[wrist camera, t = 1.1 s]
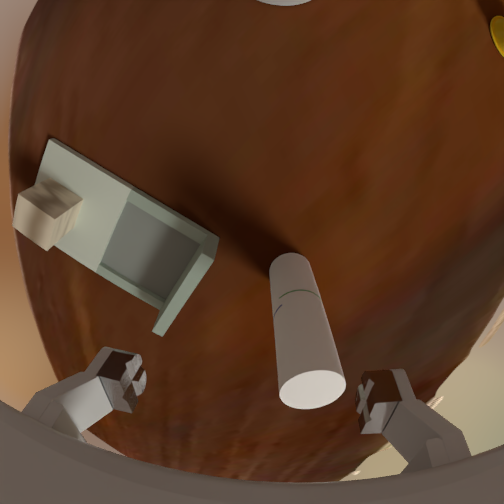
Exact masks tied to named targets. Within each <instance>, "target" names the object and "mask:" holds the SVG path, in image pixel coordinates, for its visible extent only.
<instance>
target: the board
mask: <svg viewBox="0 0 504 504" xmlns="http://www.w3.org/2000/svg"><path fill="white" fill-rule="evenodd" d="M48 178H52V179H53V180H55V181H56V182H58V183H59V184H61V185H62V186H64V187H65V188H67V189H68V190H70V191H72V192H73V193H75V194H76V195H78V196H79V197H81V198H83V199H84V200H83V203H82V205H81V208H80V211H79V214H78V217H77V220H76V223H75V226H74V228H73V229H72V230H70V231H69V232H68V233H67V234H66V235H65V236H63V237H62V238H61V239H60V240H59V241H58V242H56V243H55V244H54V245H55V246H56V247H58V248H59V249H61V250H62V251H64V252H65V253H67V254H68V255H70V256H71V257H73V258H74V259H76V260H77V261H79V262H80V263H82V264H83V265H85V266H86V267H88V268H90V269H91V270H93V271H94V272H96V273H98V274H99V275H101V276H102V277H104V278H106V279H107V280H109V281H111V282H112V283H114V284H116V285H117V286H119V287H121V288H122V289H124V290H126V291H127V292H129V293H131V294H133V295H134V296H136V297H138V298H140V299H141V300H143V301H145V302H147V303H149V304H150V305H152V306H154V307H156V308H158V309H159V310H160V312H159V315H158V317H157V320H156V322H155V325H154V328H153V330H152V332H154V333H156V334H158V335H160V336H162V337H163V335H164V334H165V332H166V331H167V329H168V328H169V326H170V325H171V323H172V322H173V320H174V319H175V317H176V316H177V314H178V313H179V311H180V310H181V308H182V307H183V305H184V304H185V302H186V301H187V299H188V298H189V296H190V295H191V293H192V292H193V290H194V289H195V287H196V286H197V285H198V283H199V282H200V280H201V279H202V277H203V276H204V274H205V273H206V271H207V270H208V269H209V267H210V266H211V264H212V263H213V261H214V259H215V255H216V251H217V246H218V242H219V237H218V236H216V235H214V234H213V233H211V232H209V231H208V230H206V229H204V228H203V227H201V226H199V225H198V224H196V223H194V222H193V221H191V220H189V219H188V218H186V217H184V216H183V215H181V214H179V213H178V212H176V211H174V210H173V209H171V208H169V207H168V206H166V205H164V204H163V203H161V202H159V201H158V200H156V199H154V198H153V197H151V196H149V195H148V194H146V193H144V192H143V191H141V190H139V189H138V188H136V187H134V186H133V185H131V184H129V183H128V182H126V181H124V180H123V179H121V178H119V177H118V176H116V175H114V174H113V173H111V172H109V171H108V170H106V169H104V168H103V167H101V166H99V165H98V164H96V163H94V162H93V161H91V160H89V159H88V158H86V157H84V156H83V155H81V154H79V153H78V152H76V151H74V150H73V149H71V148H70V147H68V146H66V145H65V144H63V143H61V142H60V141H58V140H56V139H55V138H52V139H49V141H48V144H47V147H46V150H45V153H44V156H43V159H42V162H41V165H40V168H39V172H38V175H37V179H36V182H35V185H36V184H38V183H40V182H42V181H44V180H46V179H48Z"/></svg>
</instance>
